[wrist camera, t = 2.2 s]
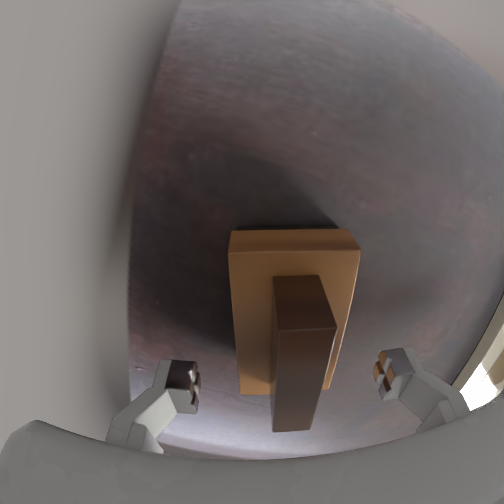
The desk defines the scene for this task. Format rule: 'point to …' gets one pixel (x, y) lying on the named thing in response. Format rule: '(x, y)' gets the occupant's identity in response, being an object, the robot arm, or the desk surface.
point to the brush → (290, 313)
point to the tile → (485, 365)
